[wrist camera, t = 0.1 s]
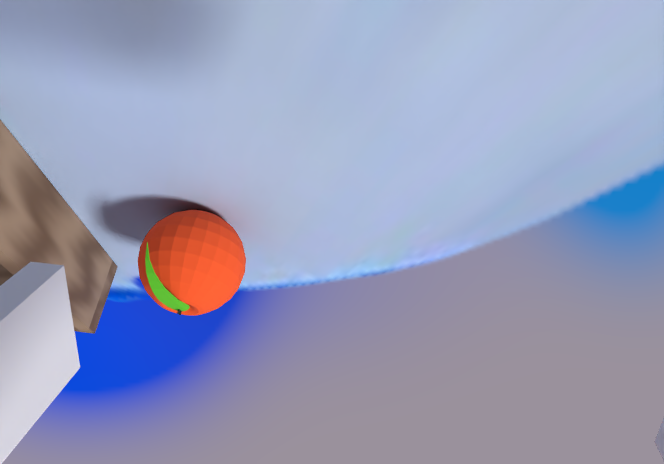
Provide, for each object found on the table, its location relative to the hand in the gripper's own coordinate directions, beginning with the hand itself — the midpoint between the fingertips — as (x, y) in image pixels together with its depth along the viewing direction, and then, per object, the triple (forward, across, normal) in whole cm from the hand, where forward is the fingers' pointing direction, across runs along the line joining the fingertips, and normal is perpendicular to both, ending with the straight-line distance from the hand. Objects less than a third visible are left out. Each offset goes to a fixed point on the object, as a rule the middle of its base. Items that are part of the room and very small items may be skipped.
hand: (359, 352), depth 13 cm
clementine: (+26, -12, -9) cm, 30 cm away
